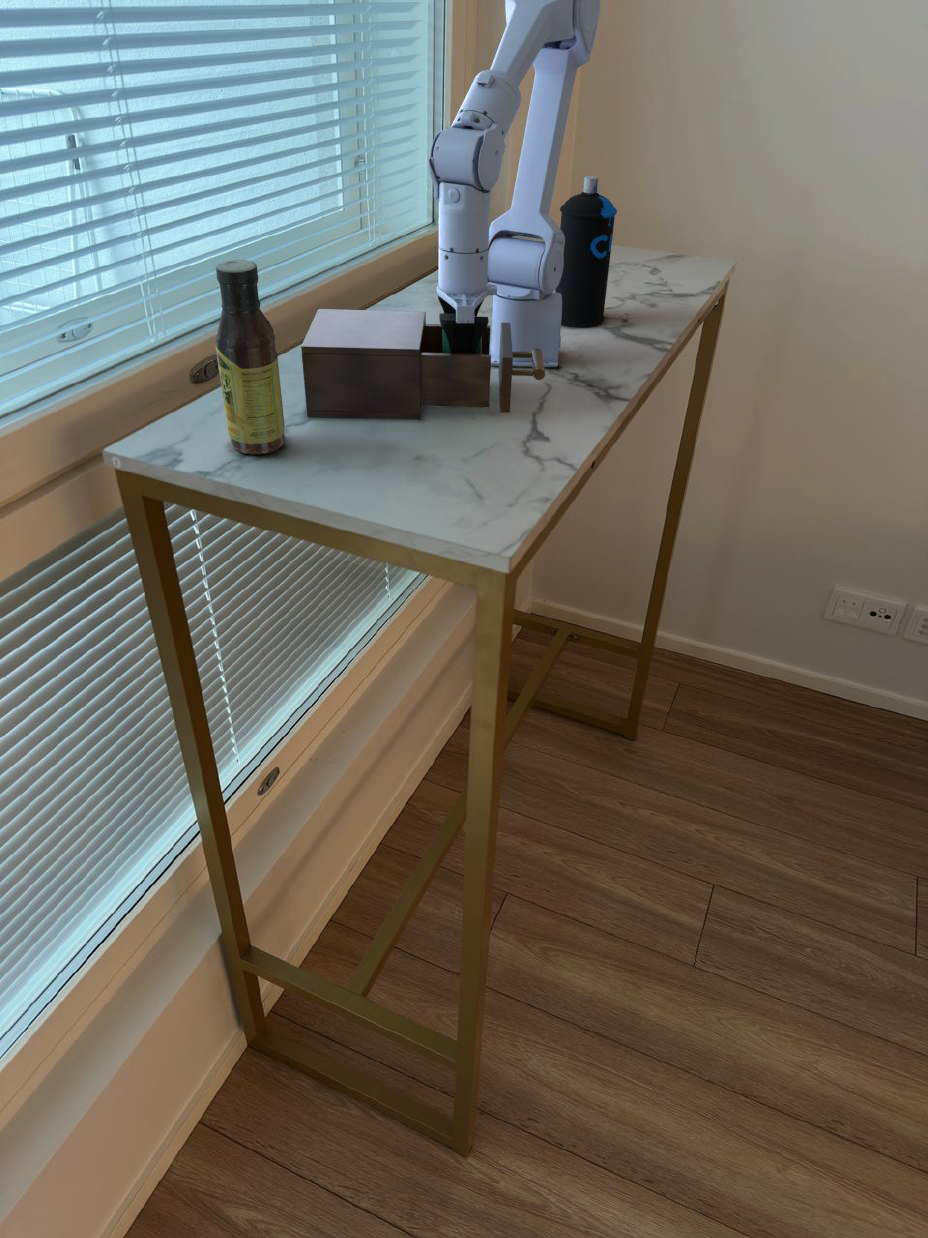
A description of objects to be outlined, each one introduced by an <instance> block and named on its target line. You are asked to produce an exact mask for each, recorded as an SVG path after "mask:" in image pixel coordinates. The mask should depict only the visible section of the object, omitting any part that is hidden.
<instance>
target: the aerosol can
mask: <svg viewBox="0 0 928 1238" xmlns="http://www.w3.org/2000/svg"><path fill="white" fill-rule="evenodd" d="M598 185H599V176H595V175H586V176H584V180H583V191H582V192H581V193H578V194H575V195H573V196H571V197H569V198H568V199H567V200H566V201H565V202H564V204H563V205H561V206H560V207H559V211H560V212H561V213H560V227H559V228H560V229H561V231H562V232H563V234H564V236H565V245H564V254H563V256H564V265H563V272H562V276H561V280H560V282H559V284H558V286H557V288H556V289H555V290H554V293H561V295H562V318H561V326H564V327H565V326H566V327H571V328H593V327H597V326H600V325H602V324H604V322H605V321H606V318H605V317H606V316H605V309H606V308H605V307H606V300H607V299H606V298H607V289H608V281H609V272H610V271H609V270H610V263H611V253H612V243H613V236H614V225H615V219H616V218H615V217H616V215H617V213H618V210H617V208H616V207H615V206H614V204H613V203H612V201H611V200H610V199H608V198H607V197H605V196H604V195H601V194H600V193H598Z"/></svg>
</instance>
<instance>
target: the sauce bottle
mask: <svg viewBox="0 0 928 1238" xmlns="http://www.w3.org/2000/svg"><path fill="white" fill-rule="evenodd" d="M215 273H216V280H217V282H218V284H219V291H220V296H221V315H220V319H219V324H218V329H217V333H216V337H215V342H214V347H215V352H216V358H217V365H218V367H217V368H218V373H219V380H220V387H221V394H222V400H223V408H224V415H225V421H226V422H225V423H226V428H227V434H228V436H229V439H230V443H231V445H232V447H233V448H234V449H235V450H236V451H237V452H238V453H240V454H246V455H252V456H253V455H266V454H271V453H274V452H277V451H278V450H279V449H280V448H281V447H282V446H283V445H284V443H285V441H286V436H285V428H286V427H285V417H284V406H283V404H284V403H283V397H282V396H283V395H282V386H281V377H280V367H279V358H278V353H277V351H276V341H275V340H276V336H275V333H274V328H273V326H272V324H271V322H270V321H269V320H268V318H267V317H266V316H265V315H264V313H263V311H262V310H261V309H260V308H261V301H260V298H259V287H258V283H259V271H258V266H257V263H256V262H255V261H251V260H248V259H228V260H224V261H222V262H220V263H217V264H216V265H215Z"/></svg>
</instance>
